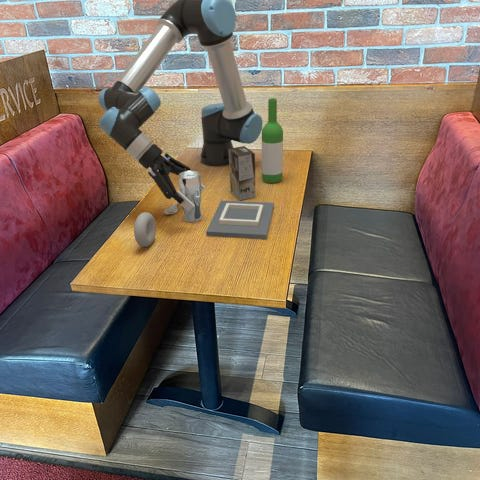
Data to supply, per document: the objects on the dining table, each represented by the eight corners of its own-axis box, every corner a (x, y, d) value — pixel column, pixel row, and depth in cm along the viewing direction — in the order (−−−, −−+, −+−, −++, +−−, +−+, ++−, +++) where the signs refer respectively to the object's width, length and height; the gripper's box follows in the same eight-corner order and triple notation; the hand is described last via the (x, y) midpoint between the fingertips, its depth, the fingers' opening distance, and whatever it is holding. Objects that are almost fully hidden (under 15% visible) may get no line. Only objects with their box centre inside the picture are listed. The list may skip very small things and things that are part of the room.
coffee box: (256, 197, 158) (255, 153, 150) (239, 201, 156) (238, 156, 148) (245, 188, 165) (244, 145, 157) (229, 191, 163) (227, 148, 155)
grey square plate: (221, 204, 154) (220, 196, 152) (273, 206, 151) (273, 198, 149) (206, 235, 135) (205, 227, 134) (266, 239, 132) (266, 230, 131)
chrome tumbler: (200, 223, 142) (196, 179, 134) (179, 222, 143) (174, 178, 136) (206, 214, 148) (203, 170, 140) (186, 212, 149) (181, 169, 142)
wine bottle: (279, 185, 167) (280, 102, 152) (259, 182, 169) (258, 101, 154) (284, 177, 173) (286, 97, 158) (265, 175, 175) (265, 96, 160)
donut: (148, 235, 136) (144, 206, 131) (159, 236, 135) (155, 206, 130) (134, 253, 128) (129, 221, 123) (146, 254, 127) (141, 222, 122)
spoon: (161, 217, 148) (160, 212, 147) (185, 192, 165) (185, 188, 164) (172, 218, 147) (172, 214, 146) (196, 193, 164) (196, 189, 163)
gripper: (151, 146, 149) (199, 190, 154) (122, 174, 128) (178, 224, 133) (165, 131, 146) (213, 176, 151) (137, 157, 124) (194, 209, 129)
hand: (197, 199), depth 142 cm, fingers open, 13 cm apart
